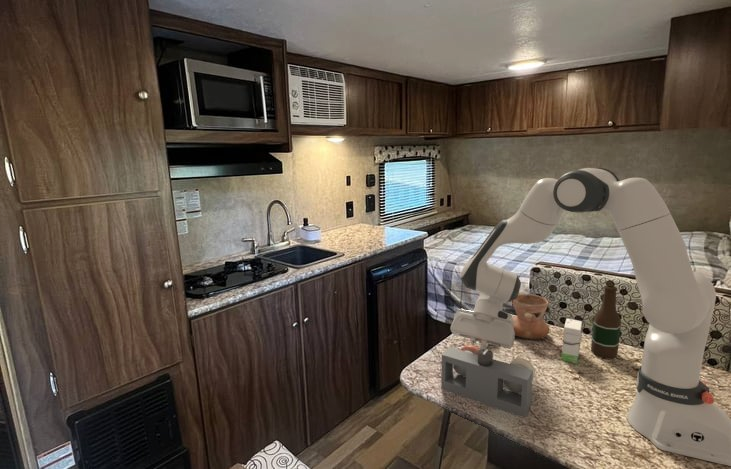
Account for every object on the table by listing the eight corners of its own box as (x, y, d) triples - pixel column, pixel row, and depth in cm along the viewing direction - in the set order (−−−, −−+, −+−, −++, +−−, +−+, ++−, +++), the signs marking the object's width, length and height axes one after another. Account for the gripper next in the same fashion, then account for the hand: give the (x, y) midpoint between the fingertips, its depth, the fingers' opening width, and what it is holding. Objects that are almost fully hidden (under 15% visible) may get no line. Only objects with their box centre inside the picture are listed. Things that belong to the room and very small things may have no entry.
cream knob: (534, 384, 112) (536, 361, 110) (527, 399, 105) (529, 375, 104) (508, 377, 116) (510, 355, 114) (500, 390, 109) (501, 367, 108)
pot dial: (494, 361, 108) (495, 350, 108) (489, 367, 105) (490, 356, 104) (480, 357, 111) (480, 346, 110) (475, 363, 107) (475, 352, 107)
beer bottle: (617, 351, 134) (625, 284, 129) (617, 361, 127) (625, 292, 122) (591, 346, 138) (597, 281, 133) (589, 355, 131) (596, 288, 126)
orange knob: (482, 369, 120) (483, 348, 119) (473, 381, 114) (474, 359, 112) (460, 362, 124) (461, 342, 123) (450, 374, 118) (450, 352, 116)
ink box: (578, 364, 126) (581, 330, 124) (561, 360, 129) (563, 327, 127) (579, 352, 134) (582, 320, 131) (563, 349, 136) (566, 317, 134)
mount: (530, 407, 106) (532, 370, 103) (525, 418, 101) (527, 380, 99) (448, 380, 119) (449, 346, 117) (441, 388, 115) (441, 354, 113)
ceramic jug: (547, 348, 137) (551, 309, 134) (504, 339, 143) (507, 303, 141) (549, 328, 153) (552, 294, 150) (510, 322, 159) (512, 288, 157)
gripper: (454, 303, 134) (442, 341, 128) (516, 316, 122) (506, 358, 116) (459, 311, 138) (447, 348, 132) (519, 324, 126) (509, 365, 121)
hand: (475, 353), depth 124 cm, fingers closed
